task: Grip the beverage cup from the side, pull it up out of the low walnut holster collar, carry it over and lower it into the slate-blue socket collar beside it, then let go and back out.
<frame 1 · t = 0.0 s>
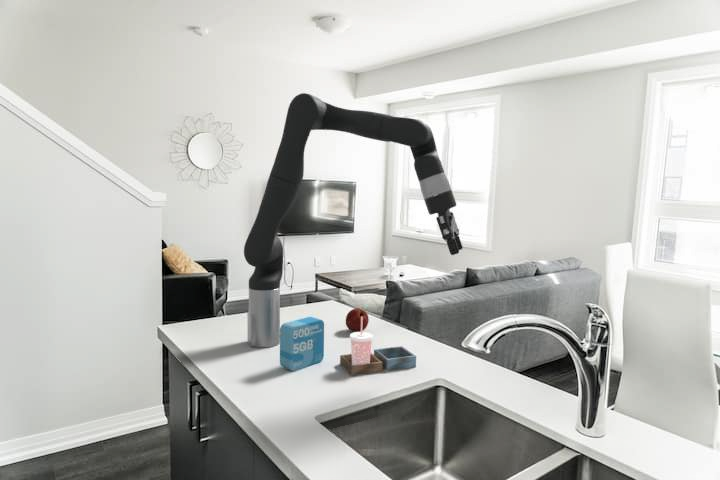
hand: (457, 252, 129), 31 cm above the worktop, tool tilted 20°, fingers open, 8 cm apart
apple: (356, 332, 163), on the worktop
data package: (302, 365, 132), on the worktop
beverage cup: (360, 368, 130), resting in cup dock
cup dock: (377, 365, 132), on the worktop
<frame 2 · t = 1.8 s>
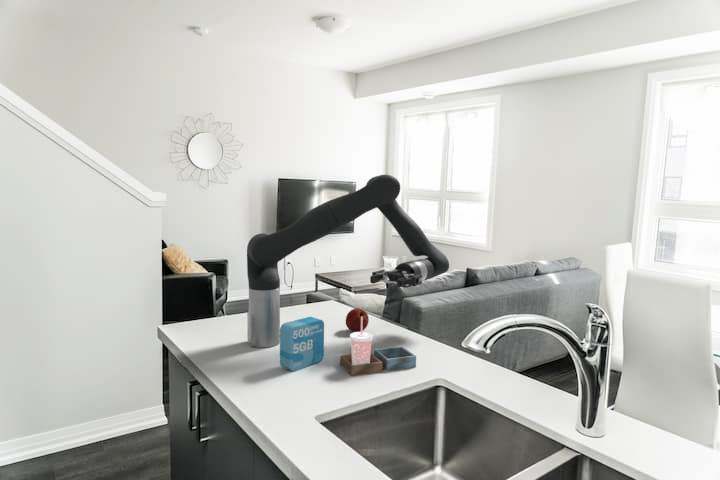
hand: (384, 281, 137), 22 cm above the worktop, tool horizontal, fingers open, 8 cm apart
nothing on the worktop moved.
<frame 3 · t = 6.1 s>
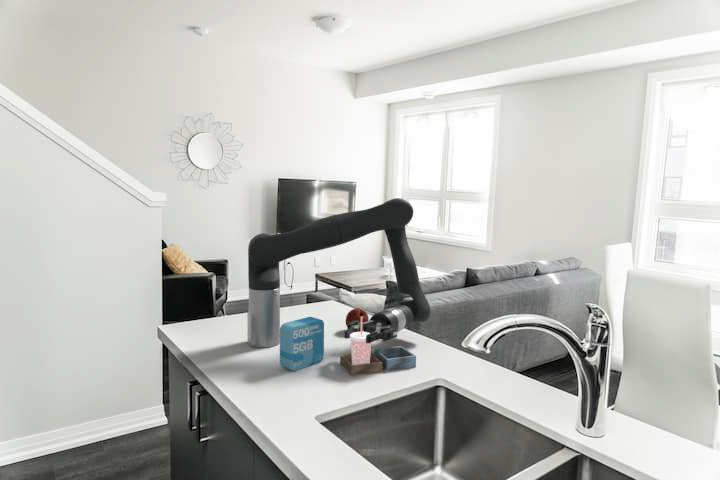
hand: (356, 337, 127), 9 cm above the worktop, tool horizontal, fingers closed on beverage cup, 6 cm apart
beverage cup: (360, 368, 130), resting in cup dock, touching gripper
everything else where it was.
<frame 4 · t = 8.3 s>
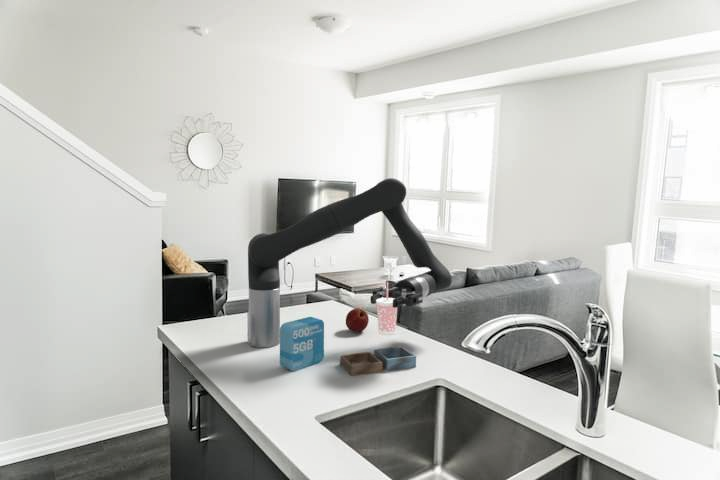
hand: (383, 301, 129), 18 cm above the worktop, tool horizontal, fingers closed on beverage cup, 6 cm apart
beverage cup: (387, 333, 132), point 9 cm above the worktop, touching gripper
everything else where it was.
when the fingers open (10 cm above the worktop, at t = 10.9 s): beverage cup drops 1 cm, resting in cup dock.
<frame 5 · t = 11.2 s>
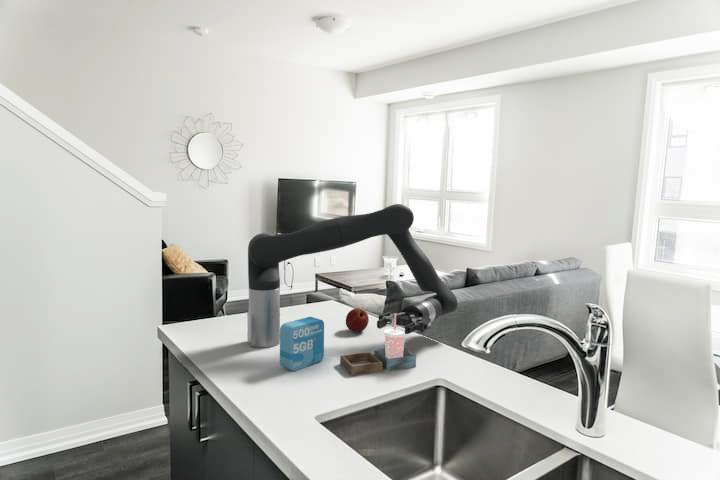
hand: (392, 327, 131), 10 cm above the worktop, tool horizontal, fingers open, 8 cm apart
beverage cup: (394, 363, 134), resting in cup dock
everything else where it was.
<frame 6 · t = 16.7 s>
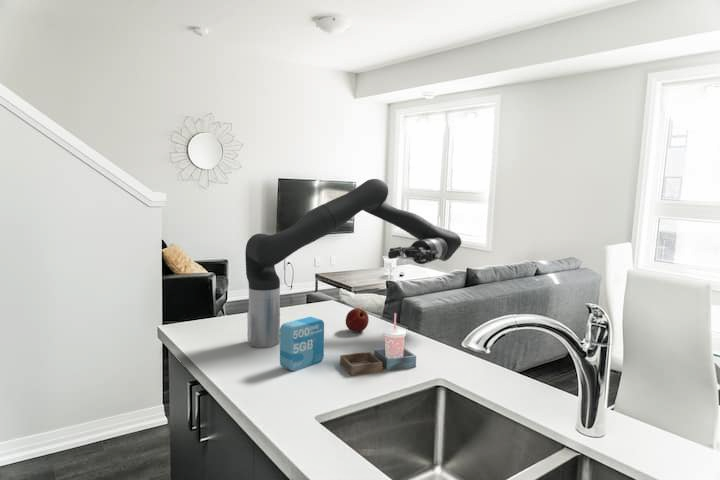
hand: (402, 256, 142), 28 cm above the worktop, tool horizontal, fingers open, 8 cm apart
nothing on the worktop moved.
at the end: beverage cup 0.2 cm from the target spot, resting in cup dock; beverage cup tilted 0°; the gripper is holding nothing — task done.
